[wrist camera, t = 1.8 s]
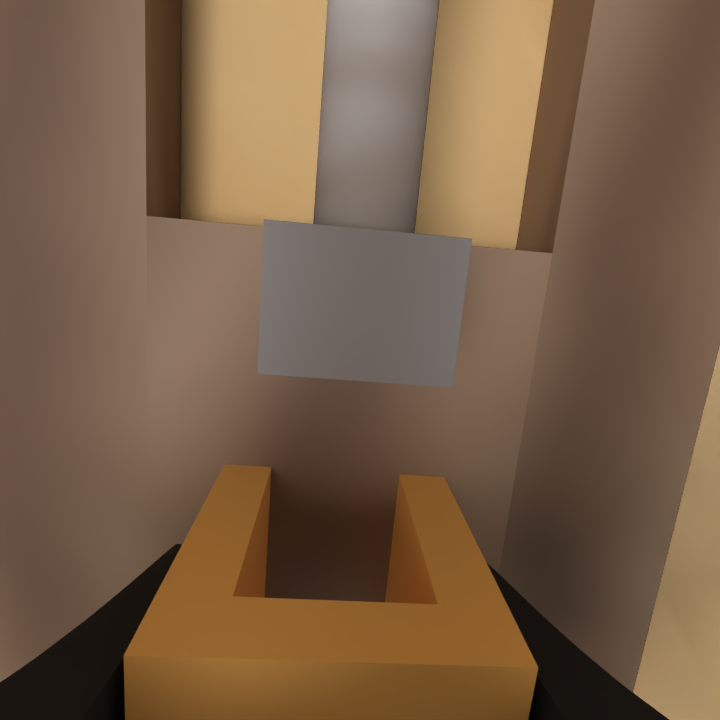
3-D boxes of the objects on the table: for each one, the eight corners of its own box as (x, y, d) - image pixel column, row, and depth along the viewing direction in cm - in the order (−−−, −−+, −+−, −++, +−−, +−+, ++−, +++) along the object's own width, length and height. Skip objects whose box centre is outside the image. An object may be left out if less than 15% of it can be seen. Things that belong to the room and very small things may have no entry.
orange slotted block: (444, 477, 11) (537, 667, 6) (423, 631, 11) (490, 913, 6) (224, 464, 10) (123, 655, 5) (219, 624, 11) (128, 915, 6)
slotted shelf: (781, -227, 10) (1453, -955, 4) (570, 724, 15) (726, 1034, 9) (-42, -367, 9) (-831, -1676, 3) (33, 713, 14) (-192, 1057, 8)
